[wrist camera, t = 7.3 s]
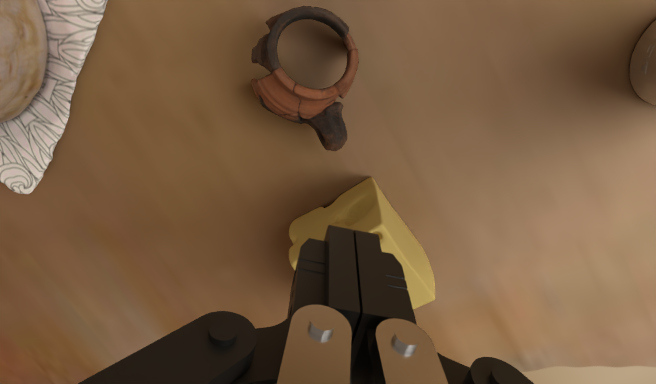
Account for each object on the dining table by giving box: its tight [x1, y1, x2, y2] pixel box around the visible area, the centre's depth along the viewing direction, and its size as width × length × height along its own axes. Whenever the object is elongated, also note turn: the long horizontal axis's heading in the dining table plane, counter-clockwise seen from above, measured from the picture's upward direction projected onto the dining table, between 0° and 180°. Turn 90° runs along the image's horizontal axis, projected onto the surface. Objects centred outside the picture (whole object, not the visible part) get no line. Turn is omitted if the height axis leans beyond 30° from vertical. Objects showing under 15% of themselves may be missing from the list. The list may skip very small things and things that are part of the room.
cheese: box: [289, 177, 435, 309], centre depth 42 cm, size 10×11×10 cm
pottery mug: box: [251, 6, 359, 151], centre depth 37 cm, size 12×10×8 cm
